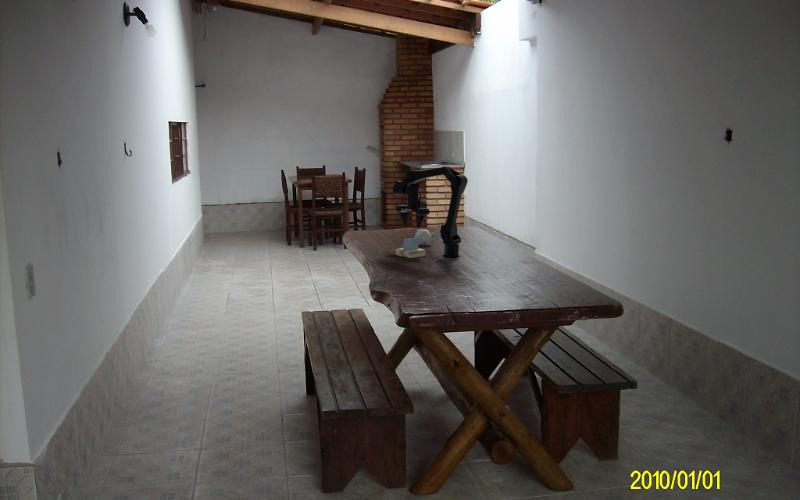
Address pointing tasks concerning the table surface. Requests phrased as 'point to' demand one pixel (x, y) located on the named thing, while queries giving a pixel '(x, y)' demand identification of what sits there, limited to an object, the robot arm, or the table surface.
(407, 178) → the robot arm
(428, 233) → the die
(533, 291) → the table surface
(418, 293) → the table surface
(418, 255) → the maple base
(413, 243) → the slate block
